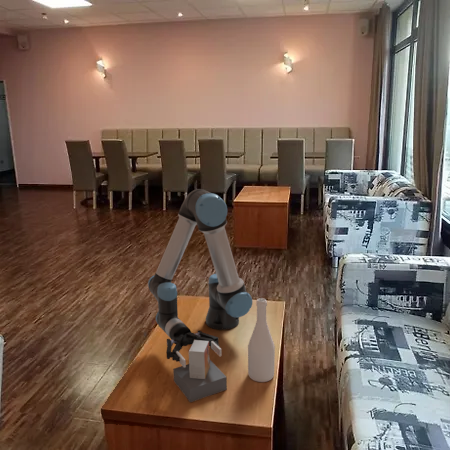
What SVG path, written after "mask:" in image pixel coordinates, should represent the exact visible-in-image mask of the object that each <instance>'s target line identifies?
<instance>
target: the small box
mask: <svg viewBox="0 0 450 450" xmlns="http://www.w3.org/2000/svg"><path fill="white" fill-rule="evenodd" d="M210 360H211V359H210V346H209V341H202V340H194V342H193V344H191V346H190V348H189V350H188V364H189V372H190V378H196V379H205V378H206V375H207V373H208V370H209V368H210Z"/></svg>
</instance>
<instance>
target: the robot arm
mask: <svg viewBox="0 0 450 450" xmlns="http://www.w3.org/2000/svg"><path fill="white" fill-rule="evenodd" d="M177 214H178V215H177V216H178V220H177V222H176V225H175V226H174V229H173V231H172V233H171V236H170V239H169V241H168V244H167V245H166V248H165V250H164V252H163V254H162V258H161V260H160V262H159V264H158V267H157V269H156V271H155V273H154V275H152V276H150V277H149V279H148V281H147V286H148V289H149V292H150V293H151V294H152V295H153V297H154V298H155V300H156V302H157V305H158V311H157V313H156V315H155V322H156V324H157V325H158V327H159V328H161V330H162V331H163V333H165V334H166V335H167V337H168V338H166V359H167V360H170V359H172V361H175V362H176V363H177V362H178V363H179V364H180V365H181V366H183V367H186V365H187V362H186V361H187V360H186V359H185V357H184V356H183V355H182V354H181V352H180V351H181V350H182V349H183V347H187V346H190V345H191V346H192V344H193V342H194V340H202V341H209V347H210V349H211V350H212V351H213V352H214V353H215V354H217V356H218V357H222V355H223V354H222V348H221V347H220V344H219V342H220V341H219V337H218V336H215V335H211V334H209V333H206V332H203V331H201V330H199V329H198V330H197V332H192V331H191V329H190V328H189V327H188V326H187V325H186V324H185V323H184V322H183V320H181V319H180V318H179V316H178V315H179V313H178V290H177V289H178V288H177V285H176V284H175V283H172V281H173V278H174V276H175V274H176V272H177V269H178V267H179V265H180V262H181V260H182V258H183V255H184V253H185V250H186V248H187V246H188V244H189V242H190V240H191V237H192V236H193V233H194V230H195V228H196V226H197V228H198V231H199V232H201V233H203V236H204V239H205V242H206V245H207V249H208V251H209V255H210V259H211V262H212V265H213V267H214V269H213V270H214V271H215V273H213V274H211V275H210V276H209V277H208V302H209V303H208V305H209V307H208V310H207V312H206V315H205V324H206V325H207V327H208V328H211V329H214V330H219V331H221V330H232V329H233V328H236V327H237V326H238V325H239V323H240V318H241V317H243V316H245V315H247V314H248V313H249V311H250V310H251V309H252V307H253V298H252V295H251V294H250V293H249V292H248V291H247V288H246V285H245V282H244V280H243V278H241V277H239V274H238V270H237V266H236V263H235V260H234V256H233V252H232V249H231V245H230V241H229V237H228V233H227V231H226V225H227V224H228V220H227V215H228V206H227V204H226V201H225V200H223V198H221V196H219V195H218V194H216V193H212V192H210V191H208V190H206V189H202V188H197V189H194V190H192V191H191V192H189V193H188V194H187V196H186V197H185V198H184V200H183V202H182V204H181V206H180V208H179V211H178V213H177ZM173 345H175V346H174V348H173V349H172V347H173Z"/></svg>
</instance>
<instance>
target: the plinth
mask: <svg viewBox="0 0 450 450" xmlns="http://www.w3.org/2000/svg"><path fill="white" fill-rule="evenodd" d="M172 370H173V371H172V372H173V382H174V384H176V387H178V388H179V390H180V391H181V393H183V395H184V396H185V398H186V399H187V400H188V402H189V403H193V402H195V401H199V400H201V399H204V398H207V397H210V396H212V395H215V394H218V393H222V392H224V391H227V389H228V388H227V387H228V386H227V384H228V382H227V381H228V380H227V376H226V375H225V374H224V372H223V371H221V369H220V368H219V367H218V366H216V364H215V363H214V362H213V361H212V360H211V359H210V368H209V370H208V373H207V375H206V378H205V379H196V378H190V372H189V363H188V364H187V363H186V367H183V366H182V365H181V366H178V367H174V368H173V369H172Z"/></svg>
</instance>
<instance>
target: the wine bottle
mask: <svg viewBox="0 0 450 450" xmlns="http://www.w3.org/2000/svg"><path fill="white" fill-rule="evenodd" d="M255 304H256V321H255V325H254V327H253V331H252V334H251V336H250V339H249V342H248V345H247V374H248V377H249V378H250V379H251V380H253V381H254V382H257V383H265V382H269V381H271V380H272V379H273V378H274V376H275V359H276V358H275V357H276V356H275V353H276V352H275V349H276V347H275V343H274V340H273V337H272V334H271V332H270V329H269V325H268V322H267V306H268V301H267V299H266V298H263V297H260V298H257V299H256V303H255Z"/></svg>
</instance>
